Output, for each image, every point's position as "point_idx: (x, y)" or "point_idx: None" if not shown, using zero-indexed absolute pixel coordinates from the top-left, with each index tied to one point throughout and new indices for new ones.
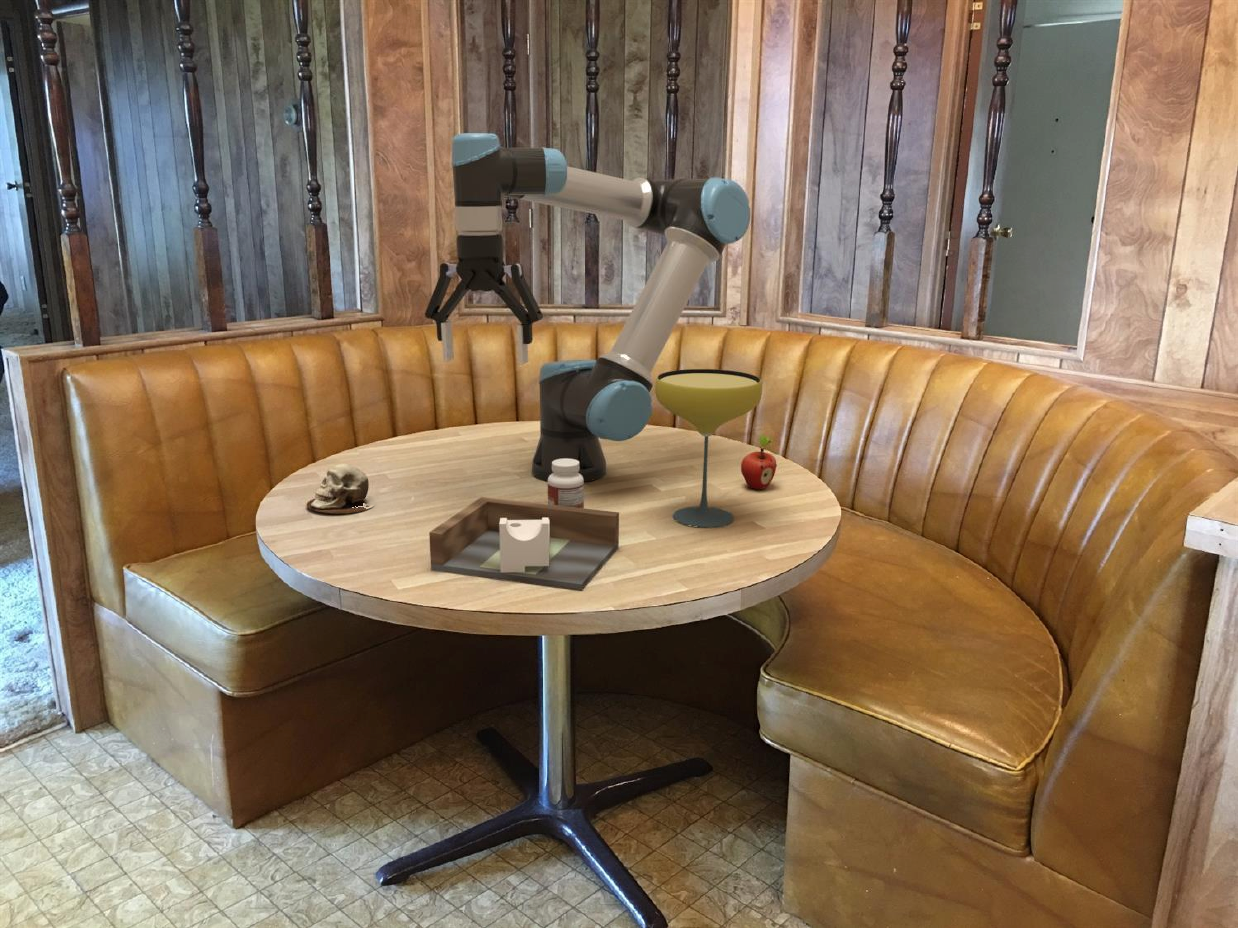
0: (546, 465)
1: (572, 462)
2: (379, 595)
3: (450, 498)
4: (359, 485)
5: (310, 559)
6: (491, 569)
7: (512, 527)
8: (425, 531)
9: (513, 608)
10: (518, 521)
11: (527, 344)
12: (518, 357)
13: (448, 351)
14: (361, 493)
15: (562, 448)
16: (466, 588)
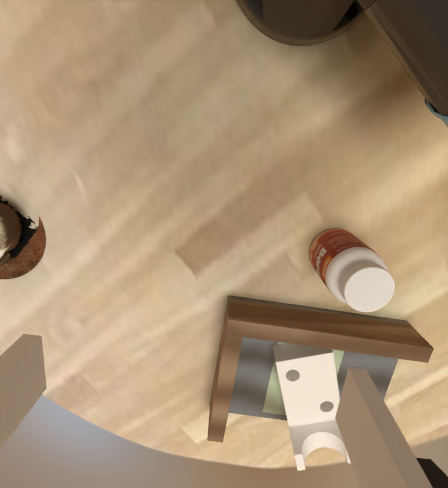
0: (274, 23)
1: (382, 289)
2: (185, 455)
3: (136, 172)
4: (6, 245)
5: (77, 398)
6: (275, 414)
7: (291, 383)
8: (158, 307)
9: (310, 461)
10: (294, 364)
11: (400, 432)
12: (345, 442)
13: (22, 405)
14: (16, 239)
15: (318, 3)
16: (258, 434)
